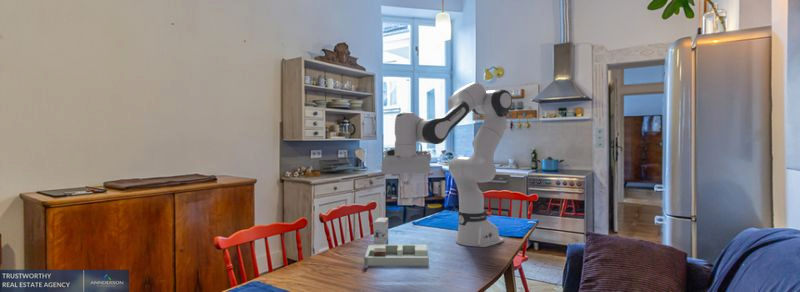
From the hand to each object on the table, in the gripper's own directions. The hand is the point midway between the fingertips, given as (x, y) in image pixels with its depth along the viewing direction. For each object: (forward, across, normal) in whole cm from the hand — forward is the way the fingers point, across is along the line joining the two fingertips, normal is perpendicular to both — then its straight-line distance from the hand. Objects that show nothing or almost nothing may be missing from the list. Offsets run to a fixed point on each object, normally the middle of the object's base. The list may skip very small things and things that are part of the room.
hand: (406, 184), depth 160 cm
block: (+28, +10, +12) cm, 32 cm away
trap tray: (+29, +4, +8) cm, 30 cm away
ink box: (+29, +12, -12) cm, 34 cm away
